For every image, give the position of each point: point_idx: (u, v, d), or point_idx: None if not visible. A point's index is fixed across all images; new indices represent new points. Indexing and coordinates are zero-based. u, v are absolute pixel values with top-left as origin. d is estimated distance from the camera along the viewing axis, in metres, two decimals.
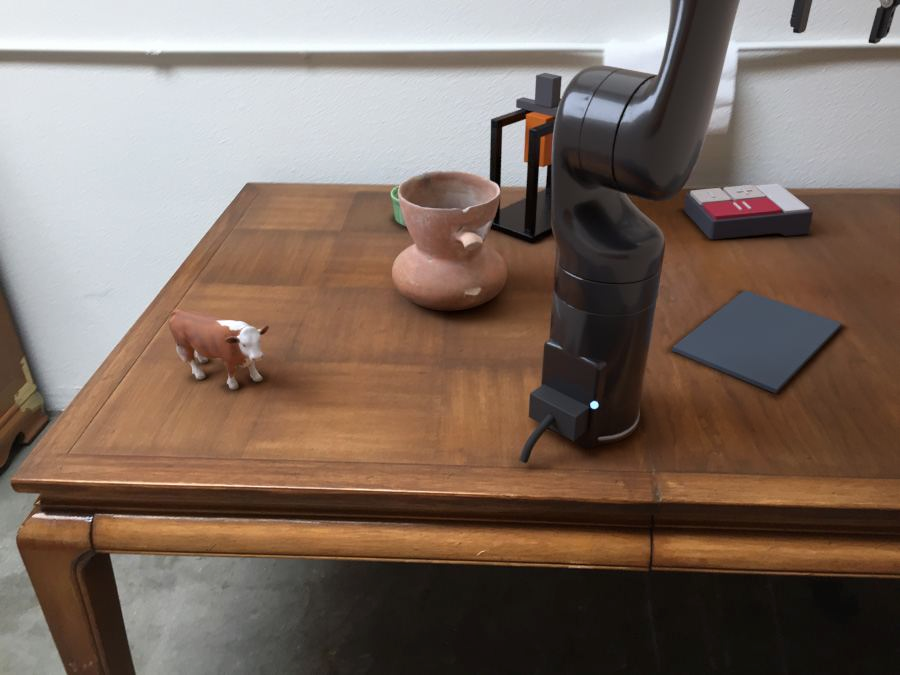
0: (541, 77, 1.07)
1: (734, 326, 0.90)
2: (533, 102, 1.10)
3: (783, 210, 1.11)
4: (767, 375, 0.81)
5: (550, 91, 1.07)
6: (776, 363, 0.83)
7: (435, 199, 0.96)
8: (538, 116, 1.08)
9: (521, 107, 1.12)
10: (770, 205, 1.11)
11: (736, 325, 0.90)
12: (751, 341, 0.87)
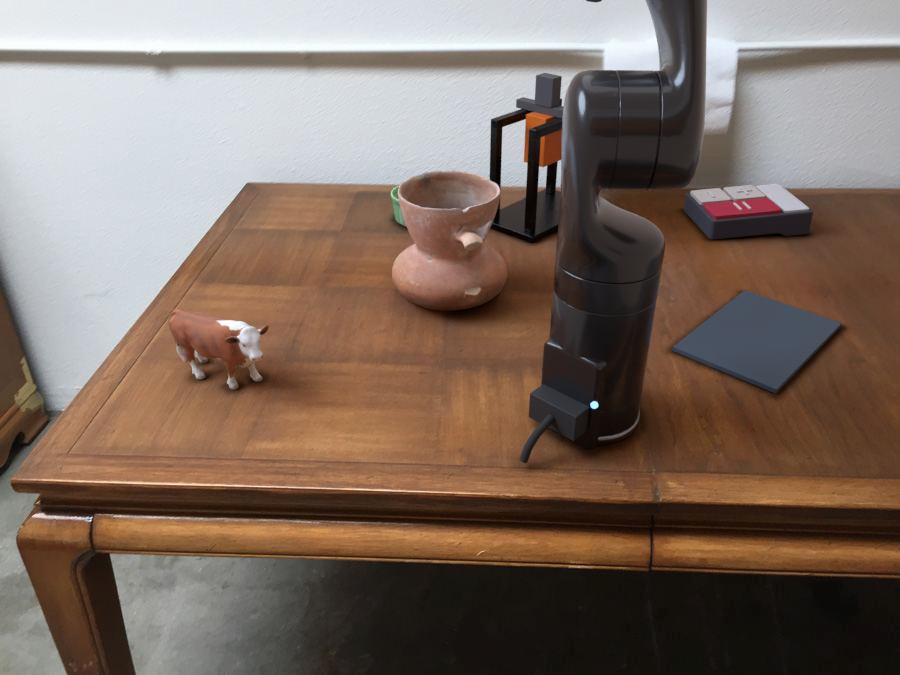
0: (541, 77, 1.07)
1: (734, 326, 0.90)
2: (533, 102, 1.10)
3: (783, 210, 1.11)
4: (767, 375, 0.81)
5: (550, 91, 1.07)
6: (776, 363, 0.83)
7: (435, 199, 0.96)
8: (538, 116, 1.08)
9: (521, 107, 1.12)
10: (770, 205, 1.11)
11: (736, 325, 0.90)
12: (751, 341, 0.87)
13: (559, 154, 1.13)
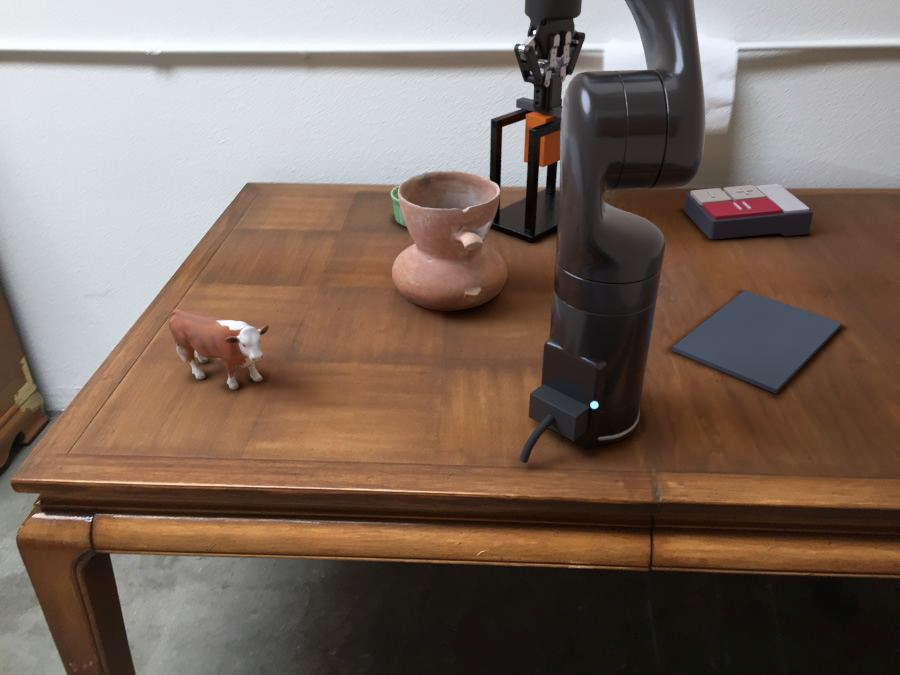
0: None
1: (734, 326, 0.90)
2: None
3: (783, 210, 1.11)
4: (767, 375, 0.81)
5: (550, 91, 1.07)
6: (776, 363, 0.83)
7: (435, 199, 0.96)
8: (538, 116, 1.08)
9: (521, 107, 1.12)
10: (770, 205, 1.11)
11: (736, 325, 0.90)
12: (751, 341, 0.87)
13: (559, 154, 1.13)
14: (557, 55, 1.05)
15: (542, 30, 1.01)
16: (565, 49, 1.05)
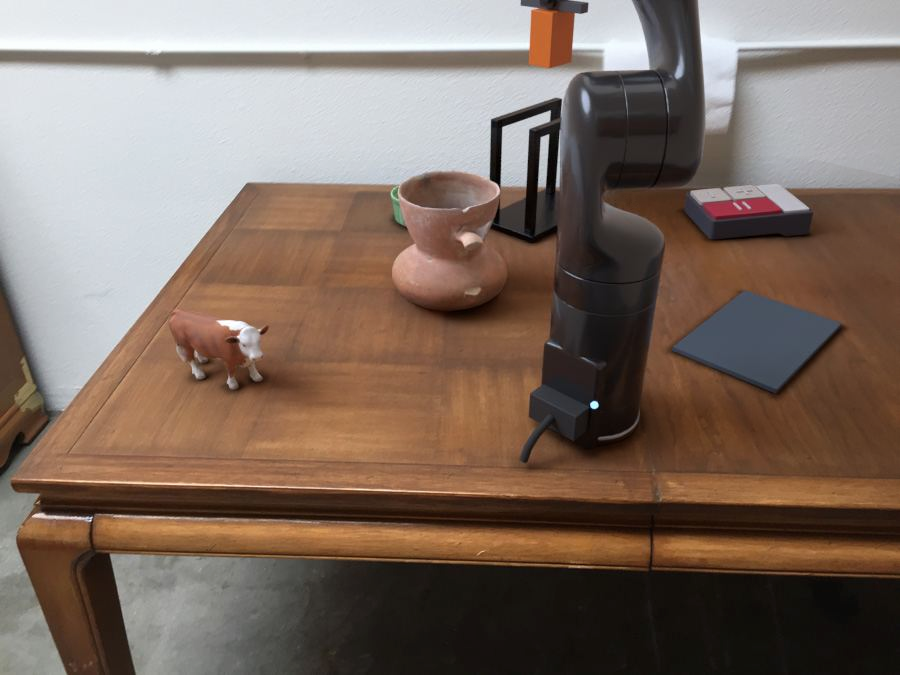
0: None
1: (734, 326, 0.90)
2: None
3: (783, 210, 1.10)
4: (767, 375, 0.81)
5: None
6: (776, 363, 0.83)
7: (435, 199, 0.96)
8: (544, 11, 1.01)
9: (526, 4, 1.04)
10: (770, 205, 1.11)
11: (736, 325, 0.90)
12: (751, 341, 0.87)
13: (566, 56, 1.05)
14: None
15: None
16: None
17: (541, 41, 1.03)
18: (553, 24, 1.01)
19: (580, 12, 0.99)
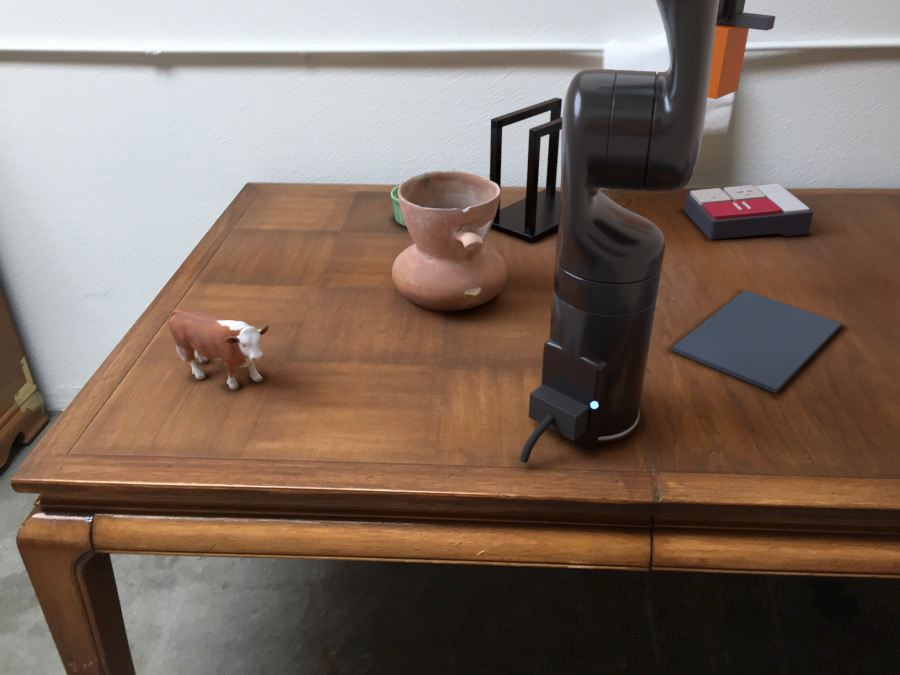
0: None
1: (734, 326, 0.90)
2: None
3: (783, 210, 1.10)
4: (767, 375, 0.81)
5: None
6: (776, 363, 0.83)
7: (435, 199, 0.96)
8: (716, 27, 0.79)
9: None
10: (770, 205, 1.11)
11: (736, 325, 0.90)
12: (751, 341, 0.87)
13: (734, 83, 0.83)
14: None
15: None
16: None
17: None
18: (727, 43, 0.79)
19: (766, 28, 0.77)
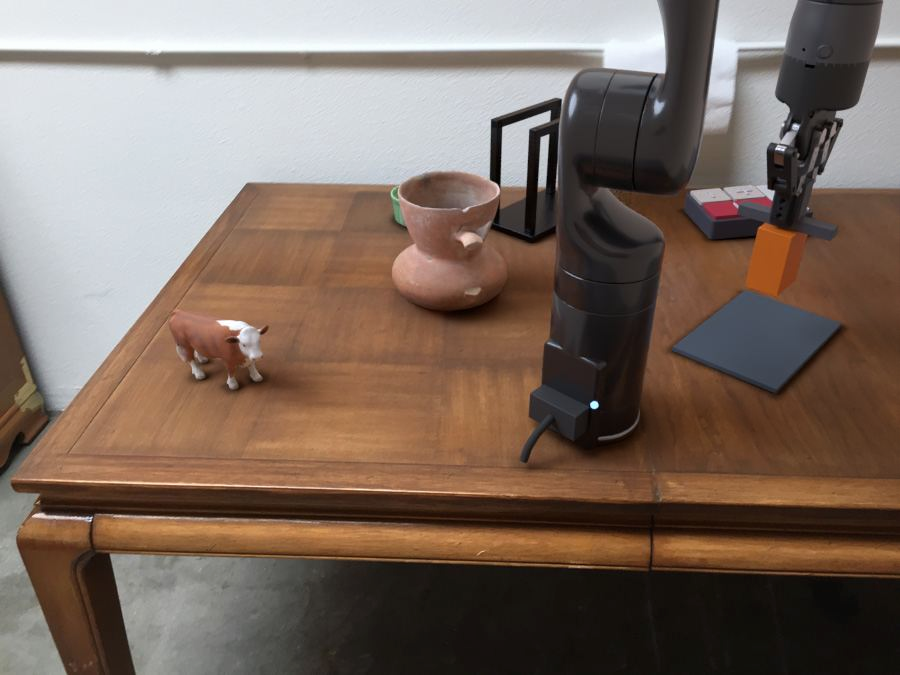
0: None
1: (734, 326, 0.90)
2: (766, 210, 0.81)
3: None
4: (767, 375, 0.81)
5: (800, 200, 0.78)
6: (776, 363, 0.83)
7: (435, 199, 0.96)
8: (778, 232, 0.80)
9: (745, 215, 0.83)
10: (770, 205, 1.11)
11: (736, 325, 0.90)
12: (751, 341, 0.87)
13: (793, 276, 0.84)
14: None
15: (808, 124, 0.72)
16: (826, 145, 0.76)
17: (768, 265, 0.81)
18: (789, 249, 0.79)
19: (829, 239, 0.78)
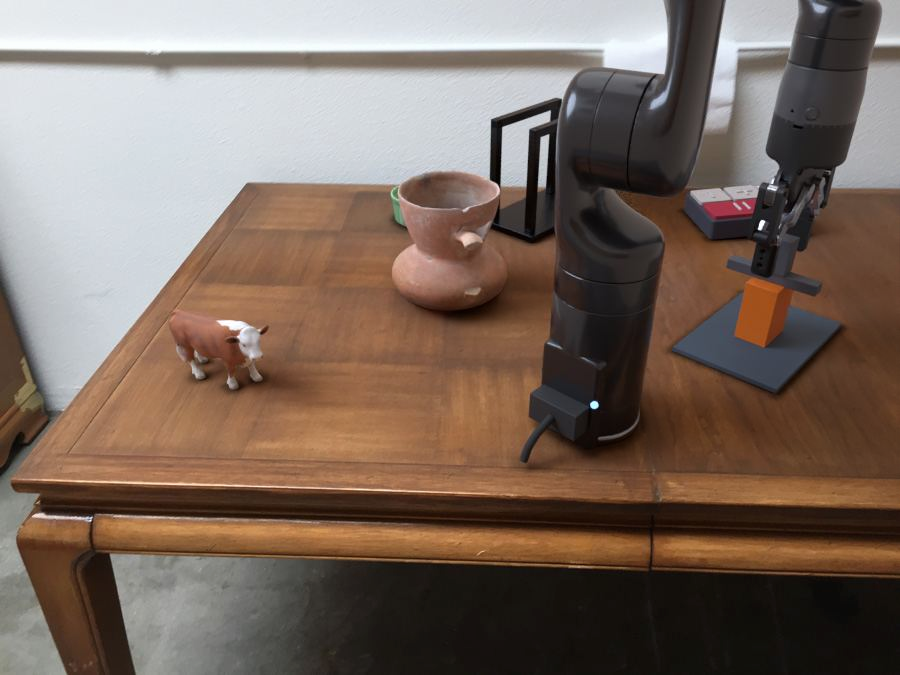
0: None
1: (734, 326, 0.90)
2: None
3: None
4: (767, 375, 0.81)
5: (785, 257, 0.81)
6: (776, 363, 0.83)
7: (435, 199, 0.96)
8: (765, 287, 0.83)
9: (734, 269, 0.86)
10: None
11: (736, 325, 0.90)
12: None
13: (780, 327, 0.88)
14: (803, 207, 0.79)
15: (797, 181, 0.75)
16: (819, 194, 0.79)
17: (756, 318, 0.85)
18: (776, 303, 0.83)
19: (814, 295, 0.81)
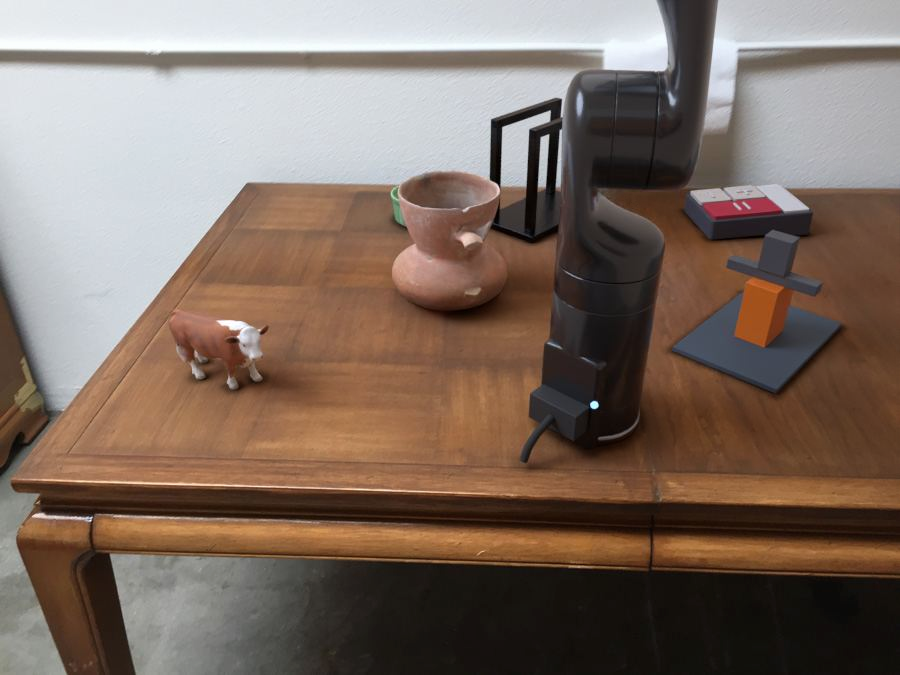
0: (773, 239, 0.81)
1: (734, 326, 0.90)
2: (753, 265, 0.85)
3: (783, 210, 1.10)
4: (767, 375, 0.81)
5: (785, 257, 0.81)
6: (776, 363, 0.83)
7: (435, 199, 0.96)
8: (765, 287, 0.83)
9: (734, 269, 0.86)
10: (770, 205, 1.11)
11: (736, 325, 0.90)
12: None
13: (780, 327, 0.88)
14: None
15: None
16: None
17: (756, 318, 0.85)
18: (776, 303, 0.83)
19: (814, 295, 0.81)
